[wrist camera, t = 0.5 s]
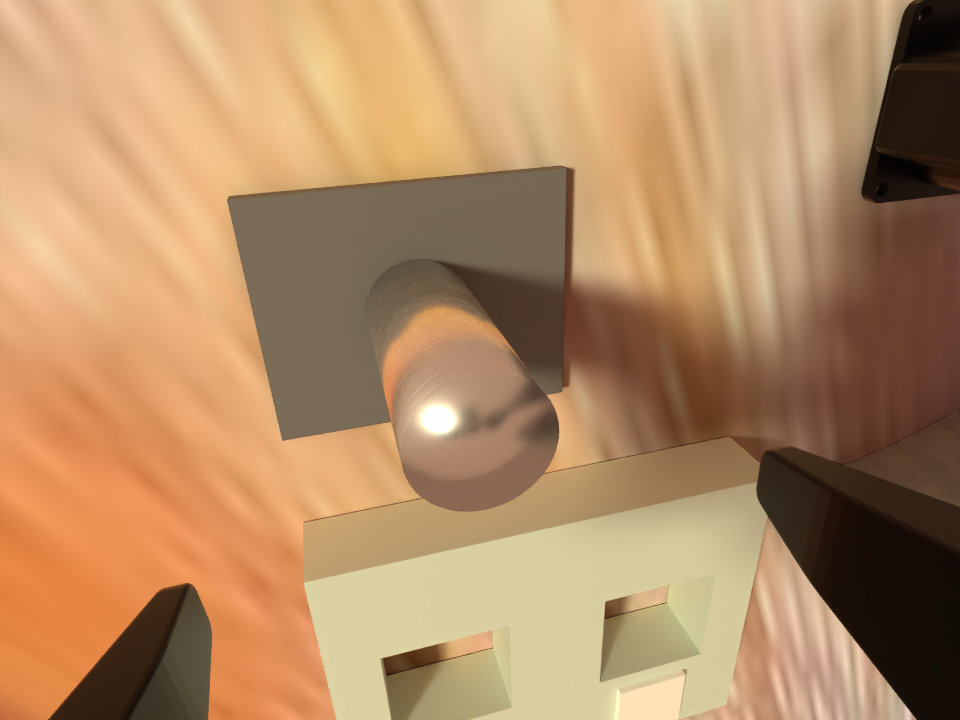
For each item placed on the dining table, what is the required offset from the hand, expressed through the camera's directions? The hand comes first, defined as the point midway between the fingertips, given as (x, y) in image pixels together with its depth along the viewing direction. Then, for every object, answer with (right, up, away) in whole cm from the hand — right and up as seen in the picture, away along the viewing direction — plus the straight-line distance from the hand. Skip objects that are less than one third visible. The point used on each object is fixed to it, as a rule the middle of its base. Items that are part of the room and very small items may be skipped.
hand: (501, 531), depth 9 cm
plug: (-2, +4, +10) cm, 11 cm away
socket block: (+2, -8, +18) cm, 20 cm away
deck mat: (-2, +5, +11) cm, 12 cm away
